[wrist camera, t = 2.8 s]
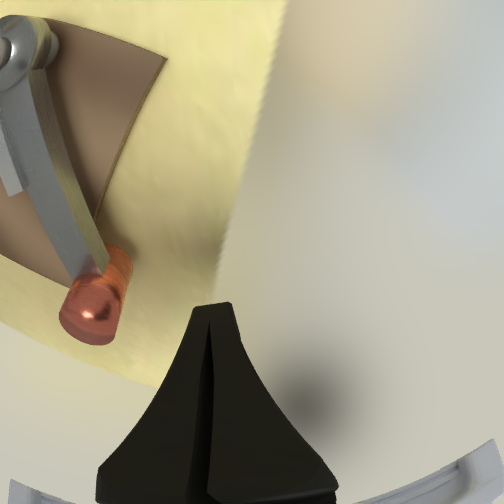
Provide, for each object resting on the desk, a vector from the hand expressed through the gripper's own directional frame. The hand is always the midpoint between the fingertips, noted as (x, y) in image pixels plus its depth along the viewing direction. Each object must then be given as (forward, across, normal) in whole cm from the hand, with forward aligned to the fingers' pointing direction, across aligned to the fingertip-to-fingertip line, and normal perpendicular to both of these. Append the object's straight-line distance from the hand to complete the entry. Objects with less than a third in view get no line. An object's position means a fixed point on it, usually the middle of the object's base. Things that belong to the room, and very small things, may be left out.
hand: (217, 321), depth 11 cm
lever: (+5, +6, -6) cm, 10 cm away
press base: (+6, +8, -6) cm, 12 cm away
